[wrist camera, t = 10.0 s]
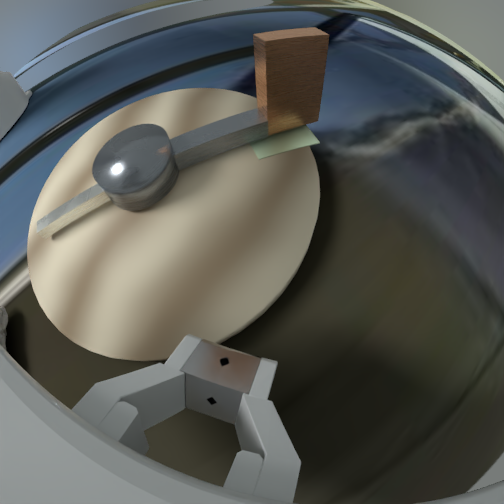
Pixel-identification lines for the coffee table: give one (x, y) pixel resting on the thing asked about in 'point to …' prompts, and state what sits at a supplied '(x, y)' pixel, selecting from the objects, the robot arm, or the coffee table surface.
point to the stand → (176, 235)
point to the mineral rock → (3, 326)
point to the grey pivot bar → (205, 130)
